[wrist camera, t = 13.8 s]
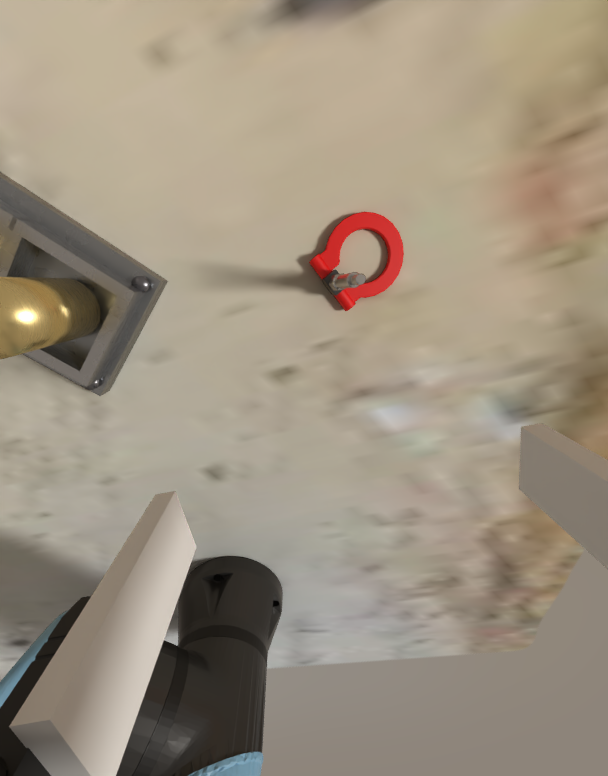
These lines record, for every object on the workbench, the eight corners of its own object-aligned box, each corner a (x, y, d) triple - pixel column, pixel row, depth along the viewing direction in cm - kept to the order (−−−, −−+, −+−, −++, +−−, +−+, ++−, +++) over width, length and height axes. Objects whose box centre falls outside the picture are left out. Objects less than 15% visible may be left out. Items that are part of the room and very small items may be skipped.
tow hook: (370, 196, 33) (302, 256, 34) (426, 140, 21) (316, 236, 22) (414, 263, 35) (348, 317, 37) (487, 249, 23) (384, 331, 24)
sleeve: (88, 348, 34) (14, 373, 25) (30, 318, 33) (-71, 332, 24) (109, 299, 33) (40, 305, 23) (50, 265, 32) (-49, 259, 22)
